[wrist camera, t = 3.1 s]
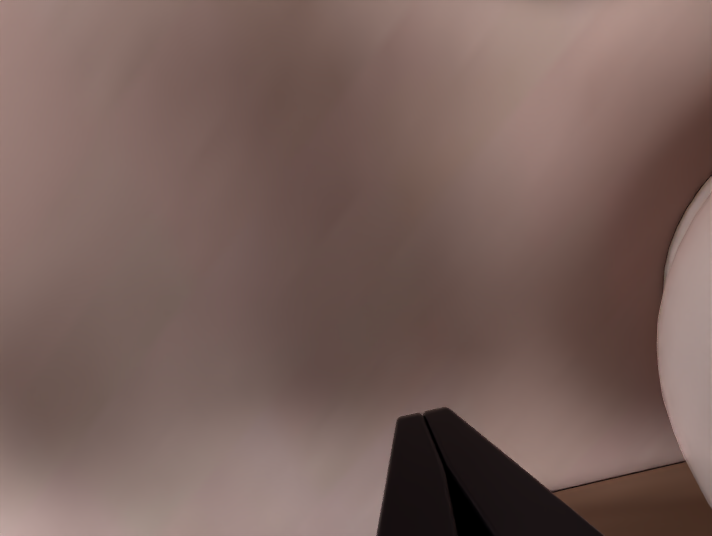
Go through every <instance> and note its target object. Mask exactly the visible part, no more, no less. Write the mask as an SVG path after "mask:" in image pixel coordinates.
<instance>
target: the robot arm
mask: <svg viewBox="0 0 712 536" xmlns="http://www.w3.org/2000/svg"><path fill="white" fill-rule="evenodd" d="M376 536H605V535H603V534H602V533H601V532H600V531H599V530H597V529H596V528H595V527H594V526H592V525H591V524H590V523H589V522H588V521H586V520H585V519H584V518H583V517H581V516H580V515H579V514H578V513H577V512H575V511H574V510H573V509H572V508H570V507H569V506H568V505H567V504H566V503H564V502H563V501H562V500H561V499H559V498H558V497H557V496H556V495H555V494H553V493H552V492H551V491H550V490H548V489H547V488H546V487H545V486H544V485H542V484H541V483H540V482H539V481H537V480H536V479H535V478H534V477H533V476H531V475H530V474H529V473H528V472H526V471H525V470H524V469H523V468H522V467H520V466H519V465H518V464H517V463H515V462H514V461H513V460H512V459H511V458H509V457H508V456H507V455H506V454H504V453H503V452H502V451H501V450H499V449H498V448H497V447H496V446H495V445H493V444H492V443H491V442H490V441H488V440H487V439H486V438H485V437H484V436H482V435H481V434H480V433H479V432H477V431H476V430H475V429H474V428H473V427H471V426H470V425H469V424H468V423H466V422H465V421H464V420H463V419H462V418H460V417H459V416H458V415H457V414H455V413H454V412H453V411H452V410H451V409H449V408H447V407H442V408H438V409H433V410H429V411H425V412H424V414H423V415H422V414H420V413H415V414H411V415H406V416H402V417H399V418H398V419H397V422H396V427H395V433H394V439H393V444H392V450H391V456H390V461H389V467H388V473H387V478H386V484H385V490H384V495H383V501H382V507H381V512H380V518H379V524H378V529H377V535H376Z"/></svg>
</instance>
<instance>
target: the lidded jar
mask: <svg viewBox="0 0 712 536" xmlns="http://www.w3.org/2000/svg"><path fill="white" fill-rule="evenodd" d="M663 290H664V292H663V296H662V301H661V306H660V311H659V316H658V326H657V358H658V370H659V377H660V384H661V390H662V397H663V401H664V404H665V407H666V410H667V413H668V416H669V420H670V423H671V426H672V429H673V432H674V435H675V437H676V439H677V442H678V444H679V447H680V449H681V452H682V454H683V457H684V459H685V461H686V462H687V464H688V466H689V468H690V470H691V472H692V474H693V476H694V478H695V480H696V481H697V483H698V485H699V487H700V489H701V491H702V493H703V495H704V497H705V499H706V500H707V502H708V504H709V505H710V507H711V508H712V175H711V176H710V178H709V179H708V180H707V181H706V182H705V183H704V184H703V186H702V187H701V188H700V190H699V191H698V193H697V194H696V196H695V197H694V199H693V200H692V201H691V203H690V204H689V206H688V207H687V209H686V211H685V213H684V215H683V217H682V219H681V221H680V222H679V224H678V226H677V228H676V231H675V233H674V236H673V239H672V242H671V244H670V247H669V250H668V254H667V259H666V264H665V268H664V284H663Z"/></svg>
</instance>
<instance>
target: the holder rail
mask: <svg viewBox="0 0 712 536" xmlns="http://www.w3.org/2000/svg"><path fill="white" fill-rule="evenodd" d="M553 494H555V495H556V496H557V497H558V498H559V499H561V500H562V501H563V502H564V503H566V504H567V505H568V506H569V507H570V508H572V509H573V510H574V511H575V512H577V513H578V514H579V515H580V516H581V517H583V518H584V519H585V520H586V521H588V522H589V523H590V524H591V525H592V526H594V527H595V528H596V529H597V530H599V531H600V532H601V533H602V534H603V535H605V536H712V508H711V507H710V505H709V504H708V502H707V500H706V499H705V497H704V495H703V493H702V491H701V489H700V487H699V485H698V483H697V481H696V480H695V478H694V476H693V474H692V472H691V470H690V468H689V466H688V464H687V462H683V463H679V464H674V465H670V466H666V467H661V468H657V469H653V470H649V471H644V472H640V473H636V474H631V475H627V476H623V477H618V478H614V479H610V480H605V481H601V482H597V483H592V484H588V485H584V486H579V487H575V488H571V489H566V490H562V491H558V492H553Z"/></svg>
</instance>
